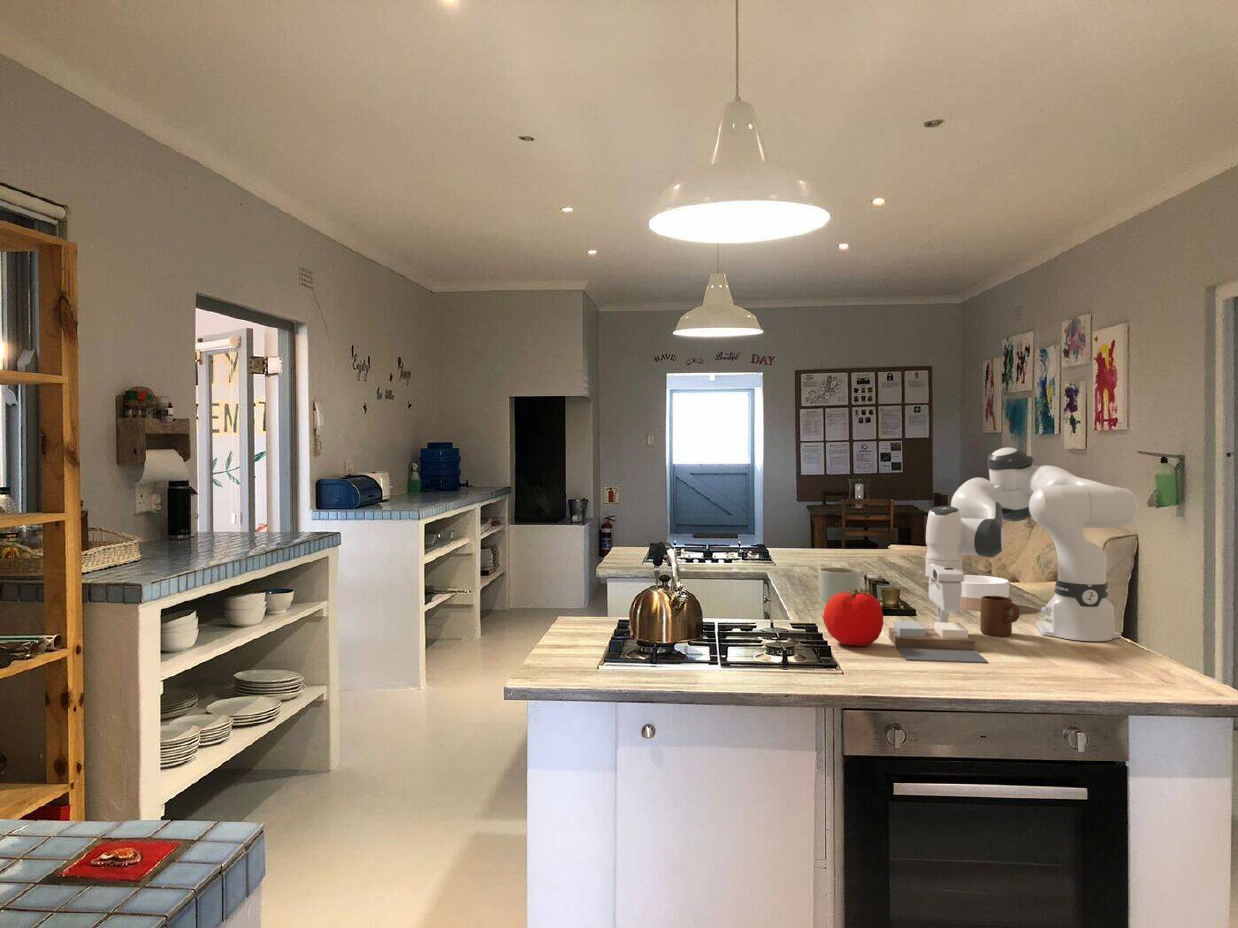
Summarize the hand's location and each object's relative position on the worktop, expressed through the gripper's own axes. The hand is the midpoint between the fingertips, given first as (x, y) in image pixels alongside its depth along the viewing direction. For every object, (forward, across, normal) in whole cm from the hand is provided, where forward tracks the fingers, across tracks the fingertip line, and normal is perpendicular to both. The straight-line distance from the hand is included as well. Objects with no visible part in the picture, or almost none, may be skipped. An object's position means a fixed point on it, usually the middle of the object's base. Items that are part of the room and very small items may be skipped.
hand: (943, 623), depth 229 cm
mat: (+3, +21, -5) cm, 22 cm away
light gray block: (+1, +9, -10) cm, 13 cm away
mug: (+4, -4, +16) cm, 16 cm away
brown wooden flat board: (+3, +9, -5) cm, 11 cm away
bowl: (+4, -47, +20) cm, 51 cm away
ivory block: (+1, +9, 0) cm, 9 cm away
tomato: (+4, +12, -24) cm, 28 cm away
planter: (+4, -42, -22) cm, 47 cm away
